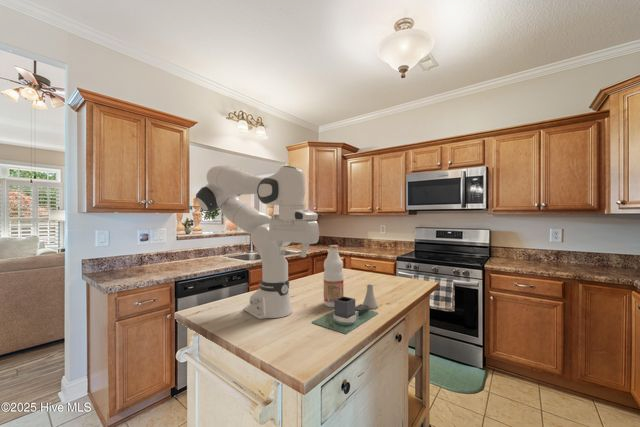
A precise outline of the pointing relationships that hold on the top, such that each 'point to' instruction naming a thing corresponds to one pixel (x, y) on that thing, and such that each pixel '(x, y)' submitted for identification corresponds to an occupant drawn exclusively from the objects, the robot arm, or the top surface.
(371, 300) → the flask
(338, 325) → the green placemat
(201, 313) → the top surface
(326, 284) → the fruit juice
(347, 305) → the dark square pot
